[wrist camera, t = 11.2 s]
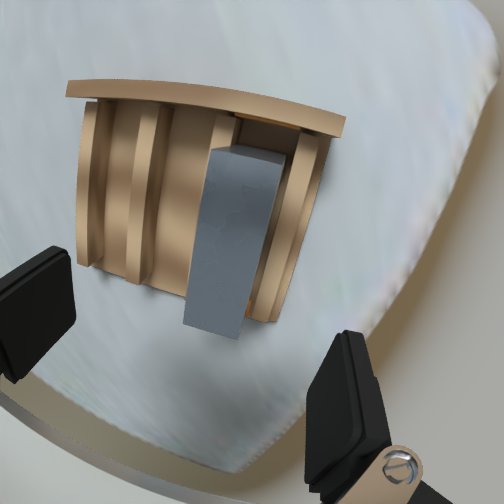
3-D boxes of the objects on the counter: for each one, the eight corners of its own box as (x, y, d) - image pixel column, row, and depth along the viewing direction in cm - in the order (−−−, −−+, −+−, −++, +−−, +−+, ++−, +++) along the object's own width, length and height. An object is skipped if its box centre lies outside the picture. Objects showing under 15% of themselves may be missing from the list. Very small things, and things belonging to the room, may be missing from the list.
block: (256, 272, 22) (237, 339, 15) (218, 262, 23) (183, 323, 15) (287, 153, 19) (282, 165, 12) (243, 143, 19) (211, 149, 12)
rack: (276, 318, 25) (270, 357, 20) (92, 262, 26) (60, 286, 21) (334, 121, 18) (346, 117, 14) (107, 85, 19) (68, 80, 15)
